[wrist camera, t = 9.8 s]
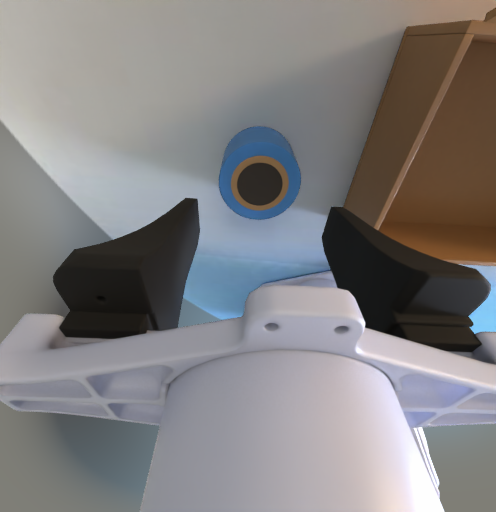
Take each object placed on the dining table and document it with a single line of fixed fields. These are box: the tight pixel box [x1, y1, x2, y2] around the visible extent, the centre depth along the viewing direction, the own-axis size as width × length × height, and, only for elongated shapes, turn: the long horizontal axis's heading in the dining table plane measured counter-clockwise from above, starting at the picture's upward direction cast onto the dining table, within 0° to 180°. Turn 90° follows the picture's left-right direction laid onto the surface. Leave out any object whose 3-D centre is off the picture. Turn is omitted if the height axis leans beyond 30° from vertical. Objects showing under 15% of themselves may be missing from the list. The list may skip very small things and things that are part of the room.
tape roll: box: [219, 126, 301, 220], centre depth 18 cm, size 5×5×4 cm
